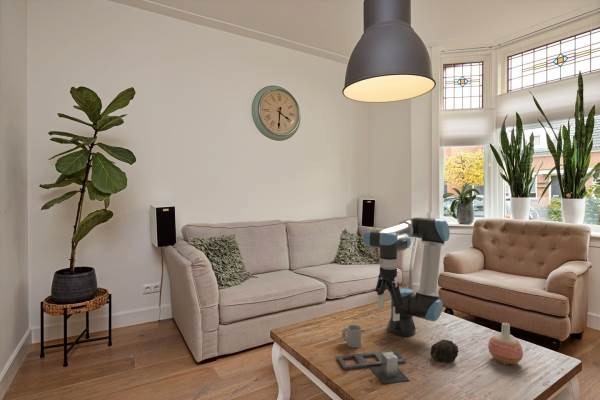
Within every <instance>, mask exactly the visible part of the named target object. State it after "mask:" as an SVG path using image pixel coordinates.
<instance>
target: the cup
mask: <svg viewBox="0 0 600 400" xmlns="http://www.w3.org/2000/svg"><path fill="white" fill-rule="evenodd" d="M341 338H342V340H343V341H344V342H346V345H347V347H349V348H352V349H358V348H361V346H362V327H361V325H357V324H349V325H347V327H346V328H345V327H344V329H342V332H341Z"/></svg>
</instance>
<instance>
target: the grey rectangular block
mask: <svg viewBox="0 0 600 400" xmlns="http://www.w3.org/2000/svg"><path fill="white" fill-rule="evenodd" d="M398 366H399V364H398V357H397V356H396V355H395V354H394V353H393V352H386V353H382V354H381V371H382V373H383V374H384V375H385V376H386V377H395V376H398V368H399V367H398Z"/></svg>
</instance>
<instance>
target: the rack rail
mask: <svg viewBox="0 0 600 400" xmlns="http://www.w3.org/2000/svg"><path fill="white" fill-rule="evenodd" d="M386 352H393V353H394V354H395V355H396V356H397V357H398V365H401V364H406V363H407V360H406V359H405V358H404V357H403V356H402V355H401V354H400V353H399V352H398V351H397V350H396V349H392V350H391V349H390V350H382V351H373V352H363V353H362V352H361V353H354V354H346V355H336V361H338V363H339V365H340V366H341V368H342V369H343V371H349V370H359V369H366V368H371V367H380V366H381V354H382V353H386ZM365 358H375V359H376V360H377V361H370V362H368V361H367V360H366V359H365ZM345 360H346V361H347V360H348V361H349V360H355V362H356V363H352V364H346V362H345Z"/></svg>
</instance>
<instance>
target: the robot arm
mask: <svg viewBox="0 0 600 400" xmlns="http://www.w3.org/2000/svg"><path fill="white" fill-rule="evenodd" d="M450 232H451V231H450V226H449V224H448V222H447V220H446V219H443V218H433V217H432V218H431V217H412V218H409V219H406V220H402V221H400V222H398V224H395V225H392V226H388V227H386V228H383V229H379V230H375V231H372V230H368V231H365V232H364V233H363V235H362V243H363V245H364V246H366V247H370V248H377V249H379V261H378V262H379V266H380V267H379V274H378V276H377V277H378V278H377V283H376V286H375V289H374V290H375V292H376V294H377V309H378V310H383V309H384V310H385V295H384V294H385V291H386V289H387V291H388V292H389V294H390V318H389V321H388V323H387V331H389V332H390V333H391V334H394V335H396V336H401V337H410V336H414V335H415V334H416V333H417V331H416V330H417V329H416V328H417V327H416V325H415V322H414V319H413V317H415V318H419V319H423V320H425V321H429V322H436V321H437V320H438V319H439V318H440V316H441V314H442V311H443V301H442V300H441V299H440V295H439V293H438V292H437V290H438V281H439V279H438V278H439V269H440V259H441V250H442V247H443V246H444V245H445V243H446V242H448V241H449V238H450ZM411 238H415V239H421V243H422V244H423V252H422V259H421V260H422V261H421V271H420V279H419V280H420V281H419V288H418V289H417V290H416V292H415V293H414V290H413V289H412V288H400V283H399V281H395V278H397V276H398V252H402V251H406V249H409V248H410V246H411V243H412V241H411Z"/></svg>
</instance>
